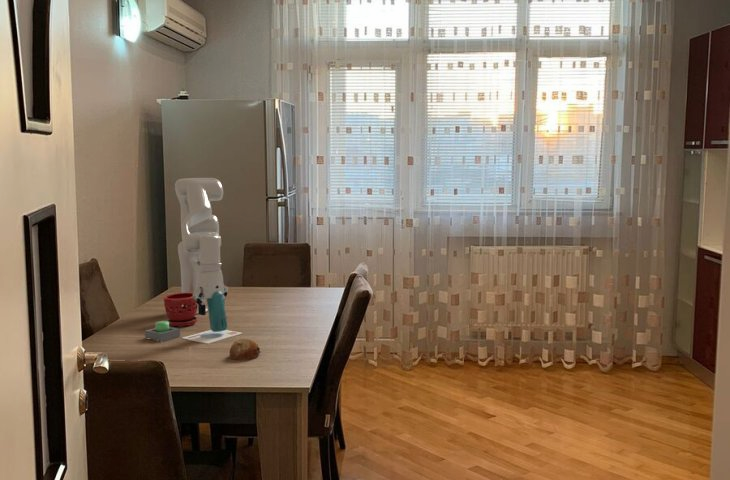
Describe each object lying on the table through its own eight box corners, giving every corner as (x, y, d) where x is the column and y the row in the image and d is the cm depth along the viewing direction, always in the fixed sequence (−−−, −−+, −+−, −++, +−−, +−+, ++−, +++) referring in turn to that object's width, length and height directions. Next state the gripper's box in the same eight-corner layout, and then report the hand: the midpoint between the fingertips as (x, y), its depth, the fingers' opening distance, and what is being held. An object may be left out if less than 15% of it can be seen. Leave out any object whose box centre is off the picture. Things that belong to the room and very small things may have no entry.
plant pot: (187, 319, 312) (186, 290, 310) (204, 324, 303) (203, 295, 301) (159, 324, 303) (157, 295, 301) (175, 329, 294) (174, 299, 292)
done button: (152, 333, 280) (152, 323, 280) (163, 330, 284) (163, 320, 284) (161, 335, 277) (161, 324, 277) (172, 332, 281) (171, 322, 281)
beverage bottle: (223, 335, 280) (217, 284, 277) (207, 335, 282) (201, 284, 278) (231, 330, 287) (225, 279, 283) (215, 330, 289) (209, 280, 285)
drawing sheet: (181, 338, 280) (181, 337, 279) (216, 328, 294) (216, 327, 294) (207, 343, 272) (207, 342, 272) (242, 333, 286) (242, 332, 286)
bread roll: (236, 362, 260) (226, 343, 259) (263, 349, 261) (252, 329, 259) (234, 371, 250) (223, 350, 249) (261, 357, 251) (251, 336, 250)
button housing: (145, 338, 280) (144, 330, 280) (164, 333, 287) (163, 325, 287) (161, 341, 275) (160, 333, 274) (180, 336, 282) (179, 329, 282)
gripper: (220, 263, 289) (221, 307, 291) (185, 269, 275) (187, 315, 277) (234, 265, 285) (235, 309, 287) (200, 271, 271) (201, 318, 273)
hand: (211, 312), depth 282 cm, fingers open, 9 cm apart
